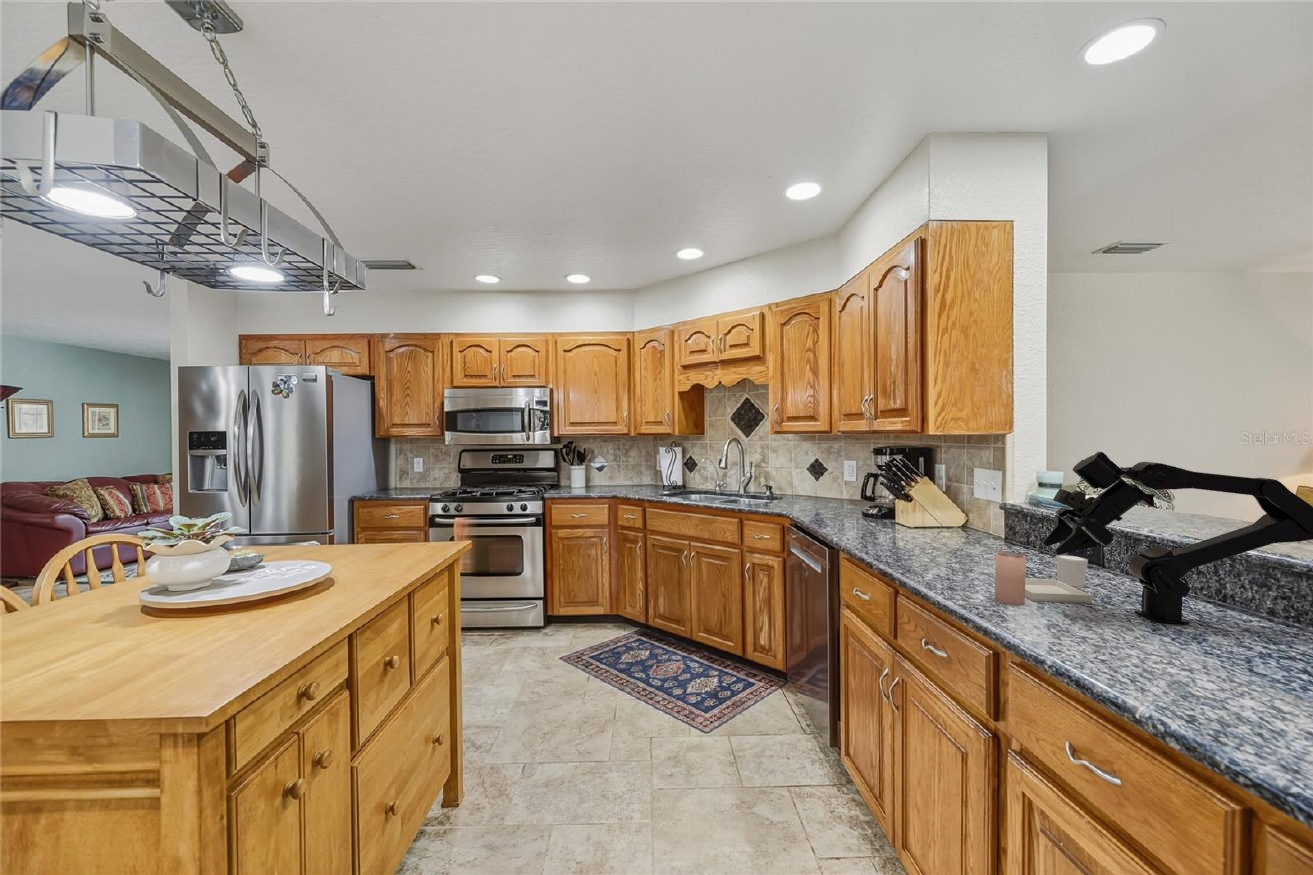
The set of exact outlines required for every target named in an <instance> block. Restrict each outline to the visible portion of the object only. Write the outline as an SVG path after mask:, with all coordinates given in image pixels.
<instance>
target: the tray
mask: <svg viewBox="0 0 1313 875" xmlns="http://www.w3.org/2000/svg"><path fill="white" fill-rule="evenodd" d="M1025 599H1028V600H1029V601H1030V602H1031V601H1032V602H1041V603H1058V604H1059V603H1061V604H1062V603H1063V604H1084V605H1085V604H1088V605H1092V600H1093V596H1092V595H1091V594H1090V593H1087V592H1085V591H1082V590H1080V589H1078V588H1077V587H1076V588H1075V587H1074V586H1069V585H1067V584H1064V583H1062V582H1060V581H1058V579H1044V578H1043V579H1041V578H1025Z"/></svg>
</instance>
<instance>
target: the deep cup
mask: <svg viewBox="0 0 1313 875" xmlns="http://www.w3.org/2000/svg"><path fill="white" fill-rule="evenodd" d="M994 566H995V568H994V570H995V571H994V572H995V573H994V574H995V575H994V600H995V602H999V603H1001V604H1005V605H1010V606H1025V604H1026V597H1025V579H1026V574H1027V573H1026V571H1027V556H1025V555H1023V554H1019V553H1015V552H1009V551H1007V552H1006V551H1005V552H1003V551H1000V552H999V551H998V552H995V565H994Z"/></svg>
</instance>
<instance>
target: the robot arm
mask: <svg viewBox="0 0 1313 875" xmlns="http://www.w3.org/2000/svg"><path fill="white" fill-rule="evenodd" d="M1072 471H1073V473H1075V474H1076V475H1077V476H1078V477H1079V478H1080V479H1081V480H1083V481H1084V483H1086V484H1087V485H1088V486H1090V487H1091V488H1092V489H1093V490H1095V489H1096V490H1097V489H1100V490H1104V491H1103V492H1101V493H1100V494H1098V495H1097V496H1089V497H1087V498H1086V493H1085V492H1082V491H1080V490H1077V489H1075V490H1074V491H1072V492H1071V491H1068V490H1066V489H1063V488H1059V489H1058V491H1057V492H1056V494H1055V496H1054V497H1053V498H1052V501H1054V502H1056V503H1059V504H1061V505H1063V506H1065V505H1066V506H1067V507H1060V508H1059V509H1057V511H1055V512H1054V513H1055V515H1054V517H1055V525H1054V527H1053V528H1052V529H1051V531H1050V532H1049V533H1048V535H1047V536H1046V538H1045V539H1044V540H1043V541H1042V544H1043V545H1044V546H1045V547H1049V546H1052V545H1055V544H1058V543H1060V545H1058V547H1056V548H1055V550H1054V552H1055V553H1057V555H1065V554H1067V553H1072V552H1076V551H1082V550H1086V549H1091V548H1097V547H1099V548H1100V547H1101V546H1104V547H1107V546H1108V545H1109V544H1111V543H1112V542H1113V541H1114V534H1113V533H1112V532H1111V531H1110V530H1109V529H1108V528H1107V526H1108V525H1110V524H1111V523H1113V522H1115V521H1117V522H1120V521H1121V520H1123V517H1122V516H1123V515H1124V514H1125V513H1127V512H1128V511H1130V510H1131V509H1132V508H1134V507H1136V506H1137V505H1138V504H1140V503H1142V504H1143V505H1144V506H1147V507H1151V508H1152V507H1154V506H1155V499H1154V498H1155V494H1153V493H1149V492H1148V493H1147V492H1145V491H1144V490H1142V489H1141V488H1142V487H1143V488H1146V489H1152V490H1155V491H1156V490H1166V491H1167V490H1184V489H1185V490H1187V489H1189V490H1190V489H1194V490H1195V489H1196V490H1203V491H1210V492H1220V493H1229V494H1230V493H1231V494H1238V495H1246V496H1252V497H1253V498H1254V499H1255V501H1256V502H1257V504H1258V505H1259V507H1260V509H1261V510H1262V511H1263V512H1264V513H1265V514H1263V515H1262V516H1261V517H1260V518H1258V519H1257V520H1256V521H1255V522H1254V523H1252V524H1249V525H1247V526H1244V527H1241V528H1238V529H1234V530H1232V531H1228V532H1226V533H1225V532H1224V533H1222V534H1219V535H1216V536H1212V537H1210V538H1207V539H1203V540H1200V541H1198V542H1194V543H1192V544H1189V545H1186V546H1185V545H1184V546H1183V547H1179V548H1175V549H1169V548H1167V547H1164V546H1162V545H1159V544H1156V545H1153V546H1151V547H1149V548H1147V549H1144V550H1137V551H1136V553H1137V554H1134V555H1133V556H1131V557H1130V559H1129V563H1128V569H1129V571H1130V573H1132V575H1134V576H1135V577H1137V579H1138V582H1139V584H1140V585H1142V591H1141V609H1139V610H1138V609H1135V610H1134V613H1135V614H1137V615H1139V616H1142V617H1144V618H1146V619H1149V620H1150V621H1154V622H1156V623H1161V624H1162V623H1164V624H1186V625H1189V624H1190V622H1191V621H1190V620H1187V619H1184V618H1183V598H1187V596H1188V594H1189V593H1190V590H1191V588H1190V586H1189V585H1187V584H1186V582H1184V581H1183V580H1181V579H1183V578H1184V577H1185V576H1187V575H1188V573H1190V572H1191V571H1192V570H1194V569H1196V568H1199V567H1203V566H1206V565H1208V564H1211V563H1215V562H1219V561H1221V560H1225V559H1228V558H1231V557H1235V556H1238V555H1240V554H1244V553H1247V552H1250V551H1253V550H1257V549H1260V548H1263V547H1267V546H1269V545H1273V544H1283V543H1285V544H1287V543H1300V542H1307V541H1313V506H1312V505H1311V504H1309V503H1308V502H1307V501H1306V500H1304V499H1302V497H1299V496H1298V495H1297V494H1296V493H1295V492H1292V491H1291V490H1290V489H1289V488H1287V487H1286V485H1284V484H1283V483H1282V482H1281V481H1279V480H1278V479H1273V478H1267V477H1246V476H1237V475H1229V474H1228V475H1226V474H1218V473H1217V474H1216V473H1210V472H1209V473H1208V472H1200V471H1193V470H1188V469H1186V468H1183V467H1177V466H1174V465H1169V464H1166V463H1162V462H1161V463H1159V462H1152V461H1140V462H1139V461H1138V462H1137V463H1135V464H1134V465H1133V466H1127V467H1122V466H1121V467H1119V466H1118V465H1117V464H1116V463H1115V462H1113V460H1111V459H1110V458H1109V456H1108V455H1107V454H1105V452H1103V451H1097V452H1096V453H1094V454H1092V455H1090V456H1088V457H1086V458H1085V459H1081V460H1080V461H1078V462H1077V463H1076V464H1075V465H1074V466H1073V468H1072ZM1124 479H1126V480H1131V482H1132V483H1131V484H1129V483H1128V482H1126V481H1125V480H1124Z"/></svg>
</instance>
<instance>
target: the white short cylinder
mask: <svg viewBox="0 0 1313 875" xmlns="http://www.w3.org/2000/svg"><path fill="white" fill-rule="evenodd" d="M1055 563H1056V572H1057V573H1056V574H1057V580H1058V581H1060V582H1062V583H1064V584H1067V585H1069V586H1071V587H1073V588H1075V587H1076V588H1079V587H1080V588H1083V587H1085V584H1086V583H1085V582H1086V576H1087V570H1088V563H1089V559H1088V558H1084V557H1082V556H1076V555H1066V554H1057V555H1055Z"/></svg>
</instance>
